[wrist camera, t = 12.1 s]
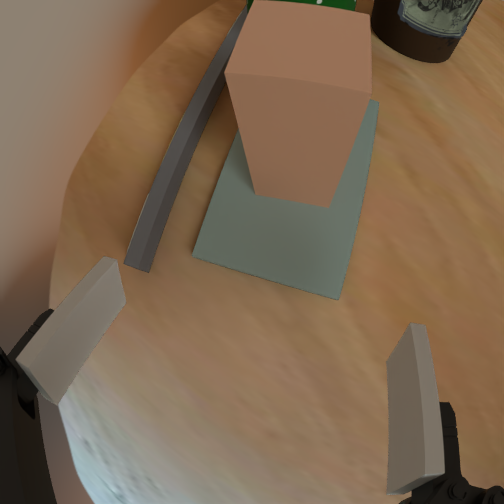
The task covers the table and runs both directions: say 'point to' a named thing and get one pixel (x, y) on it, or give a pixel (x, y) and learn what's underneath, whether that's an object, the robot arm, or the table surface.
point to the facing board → (287, 223)
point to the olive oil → (423, 26)
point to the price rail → (180, 156)
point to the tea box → (300, 95)
